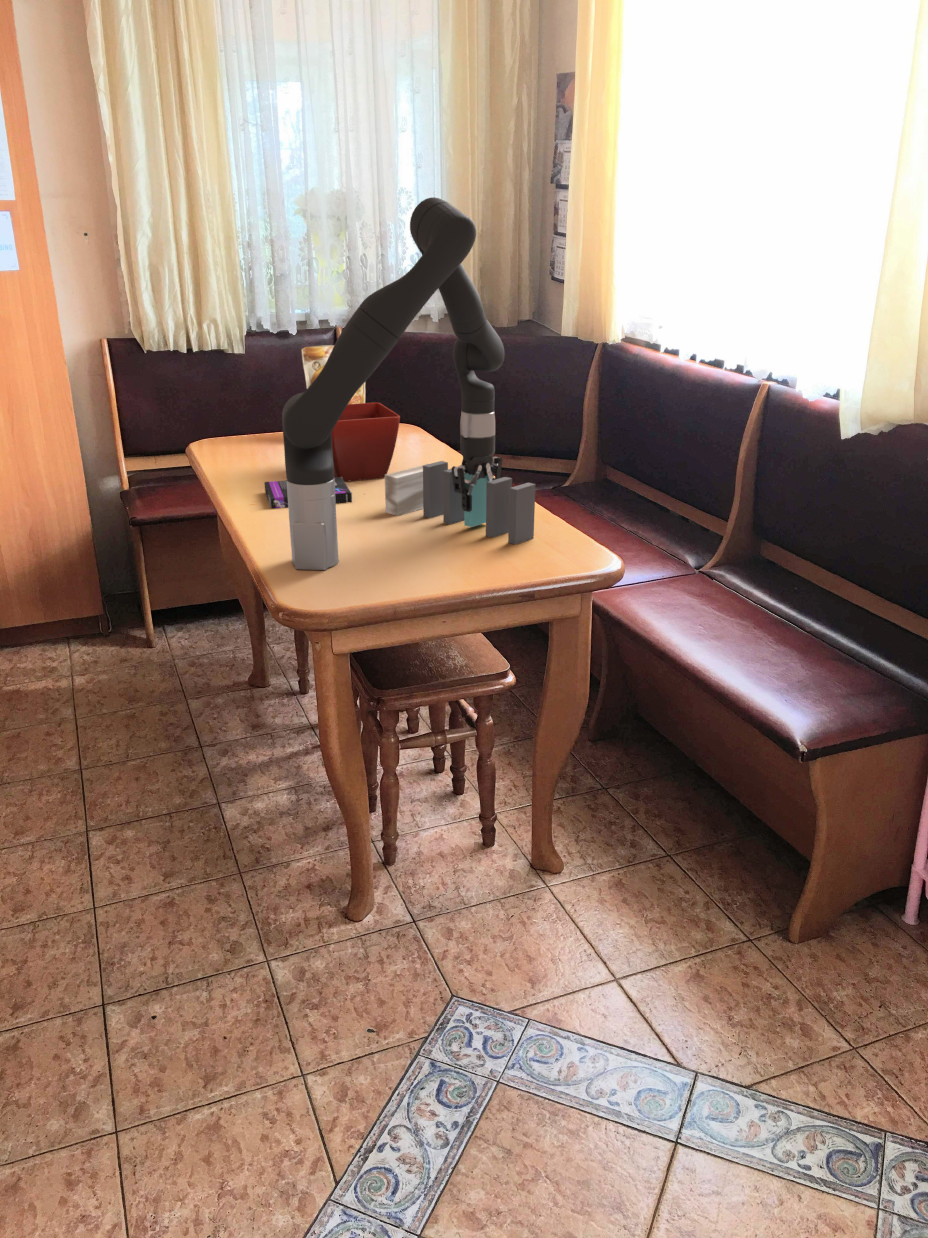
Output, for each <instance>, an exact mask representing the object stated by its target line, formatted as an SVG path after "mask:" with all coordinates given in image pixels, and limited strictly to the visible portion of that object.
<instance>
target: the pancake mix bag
mask: <svg viewBox="0 0 928 1238" xmlns="http://www.w3.org/2000/svg"><path fill="white" fill-rule="evenodd" d="M334 345H335V344H334ZM334 345H333V344H329V345H328V344H325V345H311V346H310V345H309V346H305V347H303V348H301V350H300V352H301V360H302V369H303V372H304V378H305V379H304V380H305V385H306V387H305V388H306V390H307V389H308V387H309V386H310V385H311V384H312V383H313V381H314V380H315V379H316V378H317V376H318V375H319V374H320V372H321V371H322V369H323V368H324V366H325V364H326V362H327V360H328V358H329V356H330V354H331V351H332V349H333V347H334ZM366 382H367V381H366ZM366 382H365V383H364V384H363V385H362V386H361V387H360V388H359V389H358V391H357V392H356V393H355V394H354V396H353V397H352V399H351V400H350V402H349V403H348V404H359V403H366V384H367V383H366Z"/></svg>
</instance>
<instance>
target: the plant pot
mask: <svg viewBox="0 0 928 1238" xmlns="http://www.w3.org/2000/svg"><path fill="white" fill-rule="evenodd" d="M400 419H401V415H399V414H398V413H396V412H395V411H393V410H392V409H390V408H388V407H387V406H385V405H384V404H382V403H381V402H365V403H359V404H348V405H347V406H346V408H345V410H344V411H343V413H342V415H341V416H340V418H339V420H338V421H337V423H336V425H335V427H334V428H333V430H332V432H331V433H332V451H333V462H334V477H342V479H343V481H344V482H345V483H346V482H355V481H367V480H375V479H385V475H386V474H388V471H389V470H390V465H391V462H392V459H393V456H394V453H395V448H396V445H397V444H396V443H397V439H398V434H399V430H400V429H399V428H400V421H401V420H400Z"/></svg>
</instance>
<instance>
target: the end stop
mask: <svg viewBox="0 0 928 1238" xmlns="http://www.w3.org/2000/svg"><path fill="white" fill-rule="evenodd" d="M427 464H428V463H425V465H427ZM423 465H424V464H423ZM423 465H419V466H418V465H417V466H415V467H410V468H407V469H402V470H398V471H395V472H390V473H387V474H386V475H385V478H384V496H385V513H386V514H389V515H393V516H396V517H399V516H402V515H406V514H410V513H412V512H416V511H420V510H423Z"/></svg>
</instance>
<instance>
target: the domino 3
mask: <svg viewBox="0 0 928 1238" xmlns="http://www.w3.org/2000/svg"><path fill="white" fill-rule="evenodd" d="M472 477H473V475H472V474H471V475H469V473H466V474H465V479H466V480H469V481H471V480H472ZM487 482H488V480H487V475H486V476H485V478H480V479H478V480H477V483H476V485H475V486H474V487H473V490H472V493H471V495H472V511H470V512H467V511H464V520H463V522H464V526H465V527H469V528H473V527H477V526H479V525H482V524H486V484H487ZM468 485H469V484H467V483H466V484H465V487H466V489H467V488H468Z"/></svg>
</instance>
